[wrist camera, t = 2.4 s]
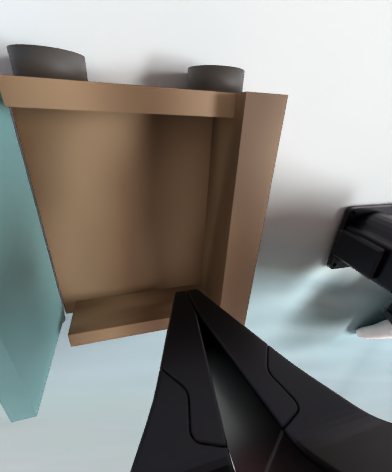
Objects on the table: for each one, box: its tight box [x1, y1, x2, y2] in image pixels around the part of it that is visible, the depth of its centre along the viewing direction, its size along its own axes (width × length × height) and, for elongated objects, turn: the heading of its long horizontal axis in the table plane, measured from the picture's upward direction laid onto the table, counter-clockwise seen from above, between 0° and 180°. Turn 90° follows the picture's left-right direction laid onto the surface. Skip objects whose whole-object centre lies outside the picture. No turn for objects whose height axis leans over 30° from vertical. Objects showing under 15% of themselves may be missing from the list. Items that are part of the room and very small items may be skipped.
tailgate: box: [0, 91, 65, 422], centre depth 11 cm, size 1×14×7 cm, turn 177°
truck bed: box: [0, 44, 288, 347], centre depth 14 cm, size 12×16×6 cm
